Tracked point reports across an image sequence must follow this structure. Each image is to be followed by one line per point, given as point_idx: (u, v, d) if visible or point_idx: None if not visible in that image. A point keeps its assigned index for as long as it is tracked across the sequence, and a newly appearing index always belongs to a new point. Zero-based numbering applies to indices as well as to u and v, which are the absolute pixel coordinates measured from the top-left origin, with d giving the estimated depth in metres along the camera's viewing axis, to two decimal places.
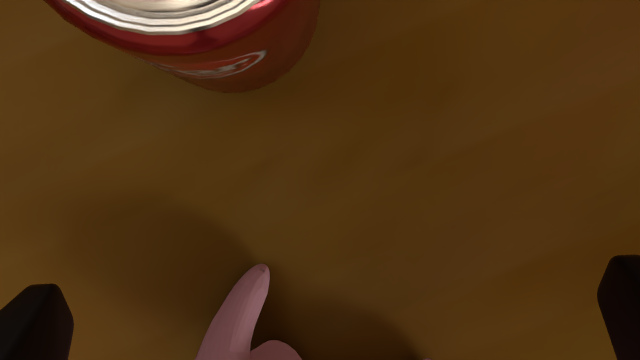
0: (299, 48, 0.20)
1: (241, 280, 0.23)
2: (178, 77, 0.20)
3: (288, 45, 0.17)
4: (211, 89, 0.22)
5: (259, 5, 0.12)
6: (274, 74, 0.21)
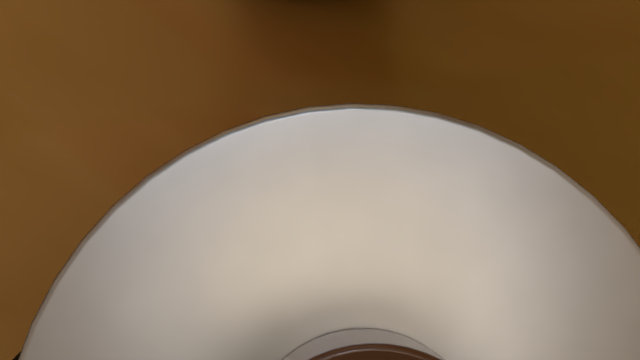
0: None
1: None
2: None
3: None
4: None
5: None
6: None
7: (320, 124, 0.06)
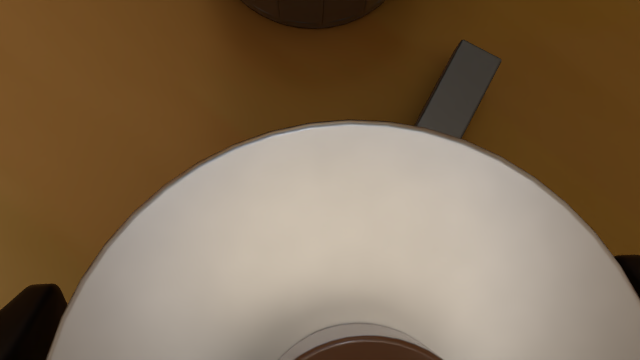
0: None
1: None
2: None
3: None
4: None
5: None
6: None
7: (320, 139, 0.06)
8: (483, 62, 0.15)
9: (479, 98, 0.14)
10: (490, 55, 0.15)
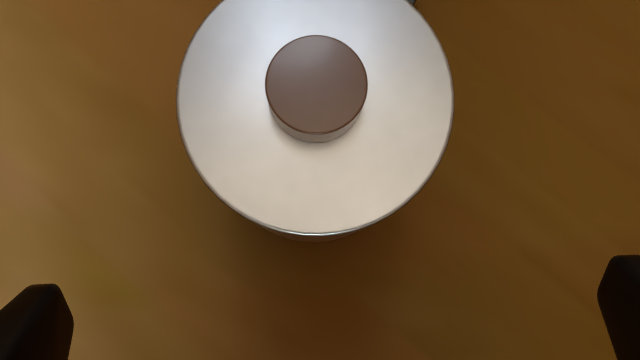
0: None
1: None
2: None
3: None
4: None
5: None
6: None
7: None
8: None
9: None
10: None
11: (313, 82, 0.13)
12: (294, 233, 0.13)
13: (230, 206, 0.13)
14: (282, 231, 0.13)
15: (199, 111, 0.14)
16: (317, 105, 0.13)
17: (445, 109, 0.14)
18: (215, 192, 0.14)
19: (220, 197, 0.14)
